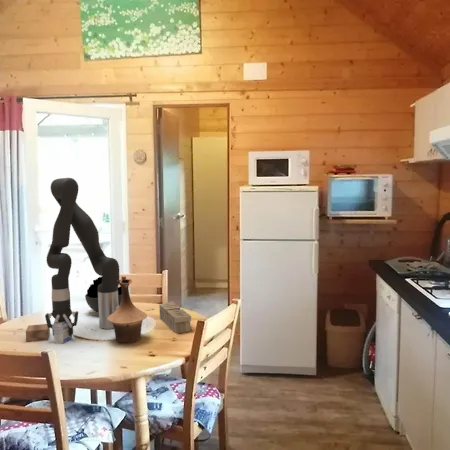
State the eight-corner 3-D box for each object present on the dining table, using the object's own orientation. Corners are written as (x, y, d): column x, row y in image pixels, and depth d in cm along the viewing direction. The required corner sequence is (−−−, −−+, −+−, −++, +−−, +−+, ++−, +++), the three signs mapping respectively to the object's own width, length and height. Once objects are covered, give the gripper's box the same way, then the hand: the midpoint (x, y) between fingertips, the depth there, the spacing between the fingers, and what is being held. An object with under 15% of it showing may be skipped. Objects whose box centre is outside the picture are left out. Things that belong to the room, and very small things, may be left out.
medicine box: (63, 343, 210) (62, 324, 209) (53, 343, 211) (52, 323, 210) (72, 337, 217) (71, 318, 216) (63, 337, 218) (62, 318, 217)
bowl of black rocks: (117, 305, 271) (116, 272, 269) (130, 313, 254) (129, 278, 252) (81, 311, 260) (79, 276, 258) (92, 320, 243) (90, 283, 241)
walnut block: (50, 334, 224) (49, 323, 223) (48, 340, 215) (47, 329, 215) (29, 336, 221) (28, 325, 221) (26, 342, 213) (25, 331, 212)
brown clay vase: (105, 336, 218) (102, 274, 215) (143, 331, 224) (140, 271, 222) (111, 349, 202) (108, 282, 199) (152, 343, 208) (149, 278, 205)
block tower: (159, 319, 246) (175, 334, 219) (158, 303, 245) (174, 316, 218) (174, 317, 249) (191, 332, 222) (173, 301, 248) (191, 314, 221)
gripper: (79, 295, 217) (81, 332, 219) (45, 297, 214) (47, 334, 216) (77, 299, 210) (79, 337, 211) (42, 301, 207) (44, 340, 209)
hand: (63, 335), depth 214 cm, fingers closed on medicine box, 5 cm apart
